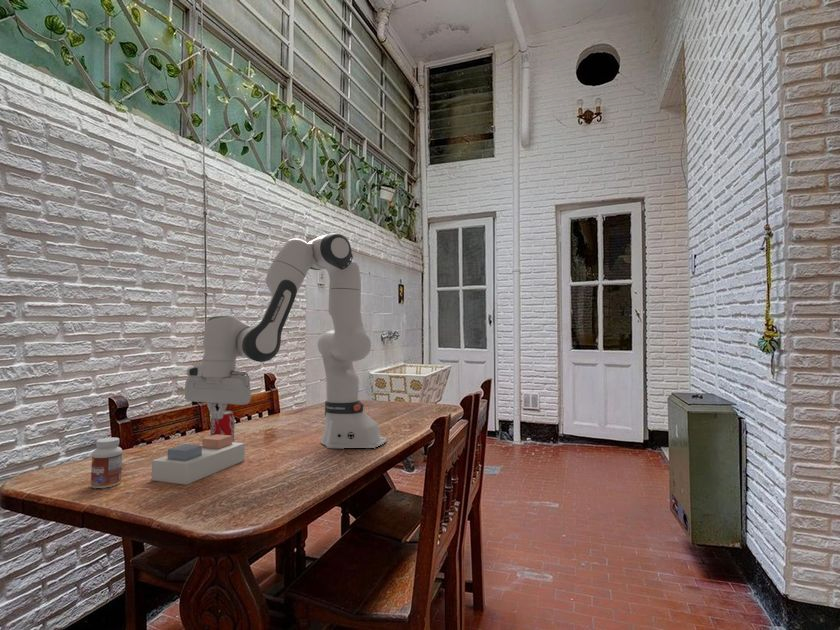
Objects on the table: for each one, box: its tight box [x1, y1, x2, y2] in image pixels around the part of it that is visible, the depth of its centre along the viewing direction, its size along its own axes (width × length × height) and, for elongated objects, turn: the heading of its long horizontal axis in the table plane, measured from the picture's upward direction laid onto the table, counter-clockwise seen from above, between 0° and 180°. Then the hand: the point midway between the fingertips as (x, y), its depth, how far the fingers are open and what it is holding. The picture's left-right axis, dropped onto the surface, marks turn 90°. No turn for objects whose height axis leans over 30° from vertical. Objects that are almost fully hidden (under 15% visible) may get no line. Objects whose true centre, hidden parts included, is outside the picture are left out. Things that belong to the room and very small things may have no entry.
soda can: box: [209, 410, 235, 442], centre depth 143 cm, size 7×7×12 cm
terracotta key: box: [201, 434, 232, 449], centre depth 128 cm, size 6×6×4 cm
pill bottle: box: [90, 437, 123, 489], centre depth 110 cm, size 6×6×11 cm
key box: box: [150, 441, 246, 485], centre depth 123 cm, size 11×22×5 cm, turn 164°
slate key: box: [167, 443, 202, 461], centre depth 117 cm, size 6×6×4 cm
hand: (216, 418), depth 128 cm, fingers closed
